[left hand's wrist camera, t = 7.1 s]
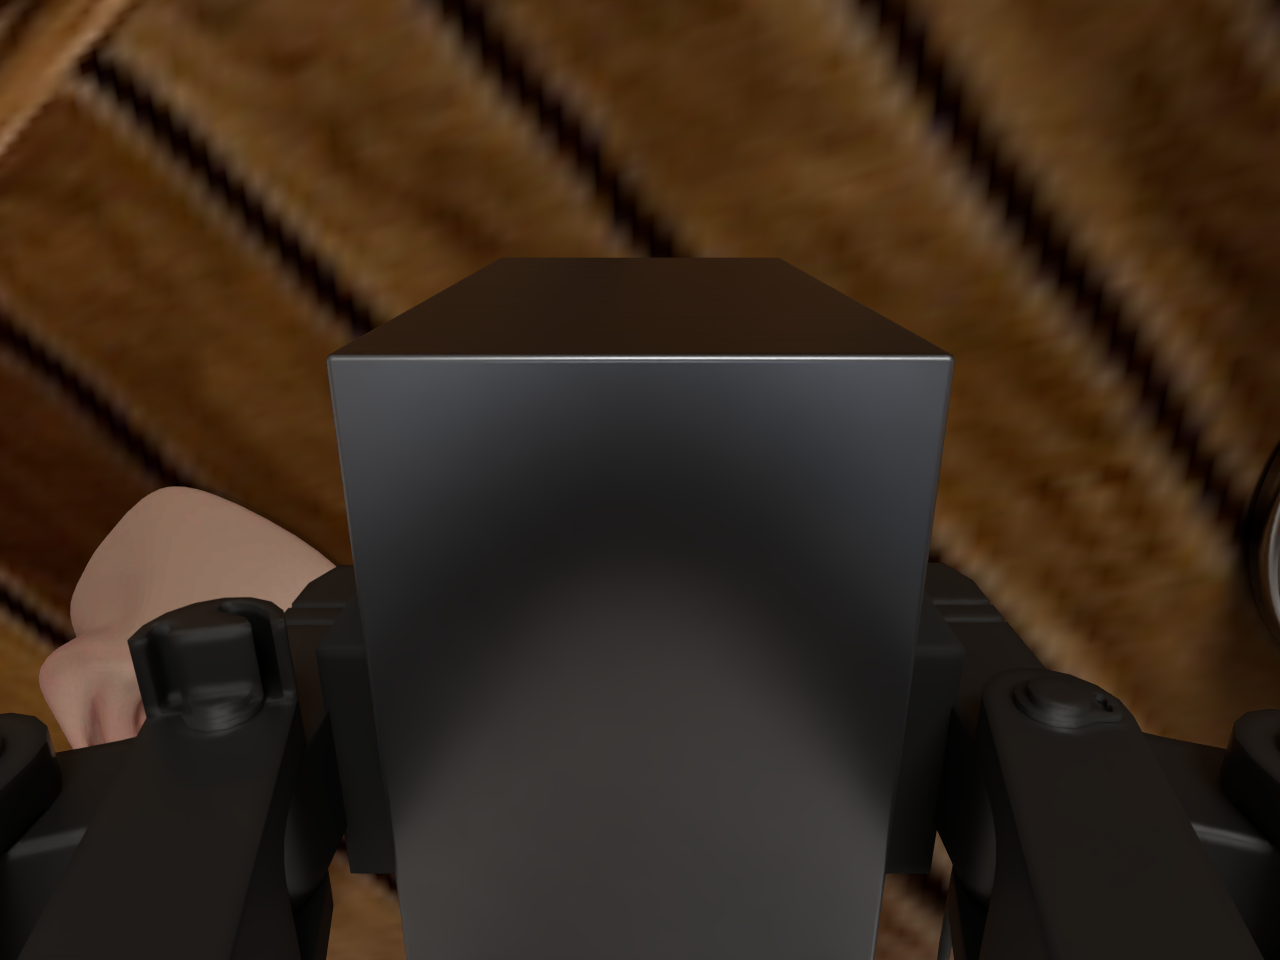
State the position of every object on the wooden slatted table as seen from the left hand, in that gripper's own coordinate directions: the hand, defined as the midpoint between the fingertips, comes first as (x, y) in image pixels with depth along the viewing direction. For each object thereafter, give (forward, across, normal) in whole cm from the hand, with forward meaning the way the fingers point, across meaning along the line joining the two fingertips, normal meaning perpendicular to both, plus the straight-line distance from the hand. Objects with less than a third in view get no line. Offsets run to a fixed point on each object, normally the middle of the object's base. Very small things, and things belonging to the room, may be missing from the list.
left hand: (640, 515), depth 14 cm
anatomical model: (+13, -15, -11) cm, 22 cm away
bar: (+1, 0, -10) cm, 10 cm away
